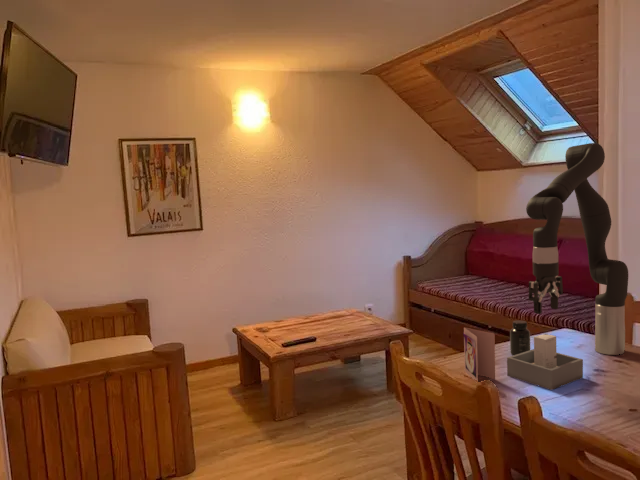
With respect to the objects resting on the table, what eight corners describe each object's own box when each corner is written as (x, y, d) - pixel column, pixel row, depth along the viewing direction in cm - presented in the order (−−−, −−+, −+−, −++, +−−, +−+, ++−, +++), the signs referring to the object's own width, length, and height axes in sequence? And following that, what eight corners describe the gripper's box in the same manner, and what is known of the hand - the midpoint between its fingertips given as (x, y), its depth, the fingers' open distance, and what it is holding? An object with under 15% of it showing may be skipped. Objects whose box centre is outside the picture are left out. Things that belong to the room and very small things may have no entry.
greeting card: (462, 371, 180) (461, 327, 179) (483, 369, 181) (483, 326, 180) (475, 383, 169) (474, 336, 168) (497, 381, 170) (497, 335, 168)
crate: (538, 364, 183) (538, 347, 183) (582, 377, 170) (582, 359, 169) (507, 375, 175) (507, 357, 174) (551, 390, 161) (551, 370, 161)
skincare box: (545, 377, 169) (545, 339, 167) (533, 373, 172) (533, 336, 171) (557, 373, 172) (557, 336, 171) (545, 369, 176) (545, 333, 175)
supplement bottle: (532, 352, 196) (532, 320, 195) (528, 358, 190) (528, 325, 189) (512, 350, 200) (512, 318, 199) (508, 355, 194) (507, 323, 193)
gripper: (548, 256, 176) (549, 305, 178) (520, 262, 169) (521, 313, 170) (569, 258, 170) (570, 309, 172) (542, 264, 162) (542, 317, 164)
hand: (546, 311), depth 171 cm, fingers open, 8 cm apart
